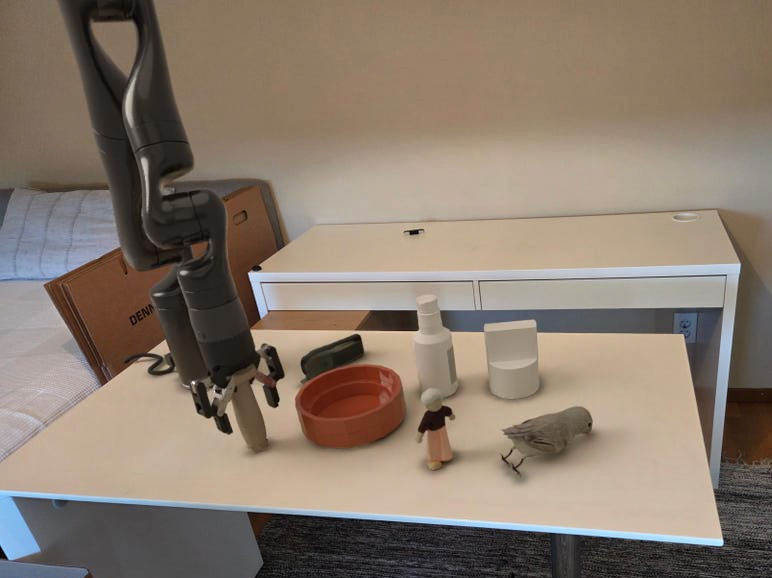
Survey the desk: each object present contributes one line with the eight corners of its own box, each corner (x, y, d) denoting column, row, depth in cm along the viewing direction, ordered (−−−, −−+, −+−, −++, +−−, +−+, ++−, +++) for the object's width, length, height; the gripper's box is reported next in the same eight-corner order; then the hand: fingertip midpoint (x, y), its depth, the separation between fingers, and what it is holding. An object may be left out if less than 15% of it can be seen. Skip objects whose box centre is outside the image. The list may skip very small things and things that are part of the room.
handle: (265, 459, 101) (240, 378, 94) (233, 453, 103) (206, 374, 96) (283, 441, 105) (260, 362, 98) (252, 436, 107) (227, 358, 100)
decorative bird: (601, 441, 97) (602, 400, 94) (516, 483, 91) (512, 441, 87) (579, 425, 101) (578, 385, 98) (495, 464, 95) (491, 423, 91)
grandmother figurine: (437, 477, 93) (426, 405, 87) (417, 470, 95) (404, 399, 89) (466, 448, 99) (457, 378, 93) (446, 442, 101) (436, 373, 95)
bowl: (282, 430, 108) (273, 400, 105) (359, 383, 120) (353, 355, 117) (350, 465, 98) (342, 433, 95) (427, 410, 109) (423, 380, 106)
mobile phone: (355, 330, 129) (290, 358, 120) (364, 334, 127) (298, 362, 118) (359, 352, 131) (295, 381, 122) (367, 356, 129) (304, 386, 120)
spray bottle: (466, 386, 115) (455, 295, 106) (438, 403, 111) (425, 310, 102) (440, 375, 119) (427, 287, 110) (413, 391, 115) (398, 301, 106)
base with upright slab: (536, 370, 118) (533, 312, 112) (542, 396, 110) (539, 335, 104) (488, 375, 118) (482, 316, 112) (490, 401, 110) (484, 340, 104)
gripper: (248, 305, 100) (274, 392, 108) (163, 342, 91) (198, 434, 99) (276, 314, 96) (301, 404, 104) (190, 354, 87) (224, 449, 94)
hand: (251, 419), depth 101 cm, fingers open, 8 cm apart
